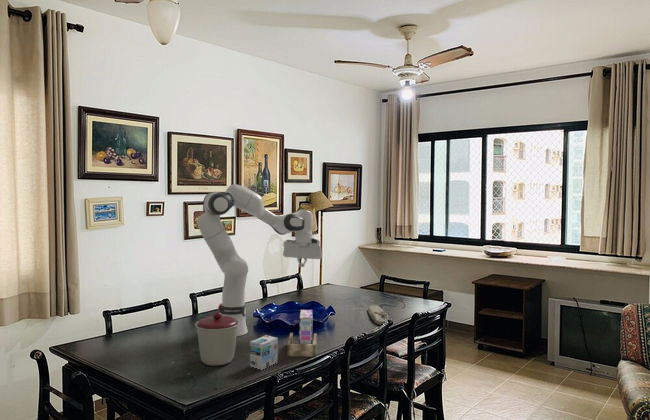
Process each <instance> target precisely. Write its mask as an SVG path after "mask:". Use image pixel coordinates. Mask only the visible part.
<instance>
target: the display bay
mask: <svg viewBox="0 0 650 420" xmlns="http://www.w3.org/2000/svg"><path fill="white" fill-rule="evenodd" d="M317 338H318V337H317V332H316V333H313V339H312V344H299V343H294V332H290V333H289V337H288V341H287V344H286V345H287V347H286V348H287V349H286V350H287V351H286V354H287V355H286V356H287V357H311V358H312V357H316V355H317V346H318V344H317V341H318V340H317Z"/></svg>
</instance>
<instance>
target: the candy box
mask: <svg viewBox="0 0 650 420" xmlns="http://www.w3.org/2000/svg"><path fill="white" fill-rule="evenodd" d="M313 316H314V315H313V309H300V313H299V319H298V320H299V325H298V329H299V330H298V335H299V336H298V344H313Z"/></svg>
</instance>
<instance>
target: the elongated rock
mask: <svg viewBox="0 0 650 420" xmlns="http://www.w3.org/2000/svg"><path fill="white" fill-rule="evenodd" d="M367 312H368V314H369V317H370V318H371V320H372V321H373V322H374V323H375V324H377V325H380V326H382V325H381V324H383V323H384V322H385V321H387V320H391V318H390V313H389V312H388V311H384V310H383V309H382V307H380V305H376V304H375V305H374V304H373V305H369V306H368V308H367Z"/></svg>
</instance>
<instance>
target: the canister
mask: <svg viewBox="0 0 650 420" xmlns="http://www.w3.org/2000/svg"><path fill="white" fill-rule="evenodd" d="M238 325H239V321H238V320H237V319H235V318H233V317H230V316H222V314H221V313H220V312H219V311H215V312H214V313H213V315H212V316H206V317H203V318H201V319H199V320H198V321H196V322H195V324H194V326H195V328H196V332H197V341H198V348H199V355H200V359H201V361H202V363H203V364H204V365H207V366H212V367H213V366H214V367H215V366H216V367H218V366H224V365H227V364H229V363H230V362H232V360H233V359H234V358H235V357H234V356H235V353H236V352H235V351H236V345H237V337H238V336H237V328H238Z"/></svg>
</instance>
